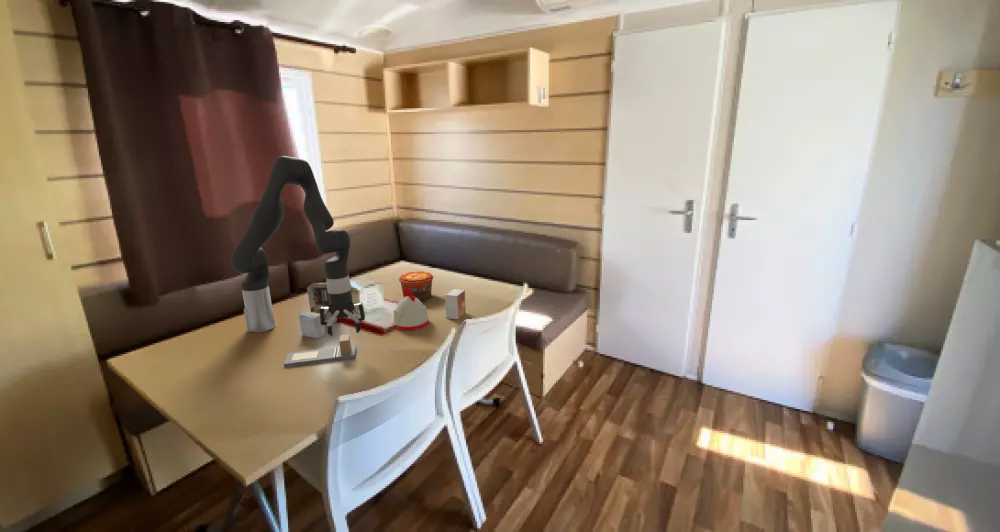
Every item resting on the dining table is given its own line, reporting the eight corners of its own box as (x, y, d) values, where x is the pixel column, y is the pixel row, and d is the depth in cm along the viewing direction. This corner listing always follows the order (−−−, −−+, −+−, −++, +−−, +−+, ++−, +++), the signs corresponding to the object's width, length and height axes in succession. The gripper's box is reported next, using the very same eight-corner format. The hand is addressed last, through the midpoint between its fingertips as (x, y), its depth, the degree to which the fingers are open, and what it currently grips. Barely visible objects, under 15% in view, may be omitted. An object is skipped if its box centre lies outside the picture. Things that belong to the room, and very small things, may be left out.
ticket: (284, 367, 145) (283, 363, 145) (288, 356, 153) (288, 352, 152) (335, 360, 149) (335, 357, 149) (337, 350, 157) (337, 346, 156)
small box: (458, 320, 182) (457, 296, 179) (445, 318, 184) (444, 294, 181) (466, 313, 189) (465, 290, 186) (454, 311, 191) (453, 288, 188)
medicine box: (325, 334, 169) (323, 313, 167) (316, 339, 165) (313, 318, 163) (311, 331, 173) (308, 310, 170) (301, 335, 169) (298, 314, 166)
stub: (336, 360, 149) (334, 343, 147) (338, 349, 157) (336, 333, 155) (354, 358, 151) (352, 341, 149) (355, 347, 158) (354, 331, 156)
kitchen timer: (415, 314, 188) (413, 281, 184) (435, 323, 179) (433, 288, 175) (387, 323, 179) (384, 289, 175) (405, 333, 170) (403, 297, 165)
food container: (431, 303, 201) (430, 280, 198) (396, 303, 201) (395, 281, 198) (436, 291, 216) (435, 270, 214) (404, 291, 217) (402, 270, 214)
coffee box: (340, 318, 184) (335, 282, 180) (332, 324, 178) (328, 287, 174) (319, 318, 185) (314, 281, 181) (311, 324, 179) (306, 286, 175)
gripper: (315, 295, 142) (321, 340, 146) (360, 290, 145) (366, 335, 150) (318, 287, 149) (324, 331, 153) (361, 283, 152) (366, 326, 157)
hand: (345, 333), depth 152 cm, fingers open, 8 cm apart
